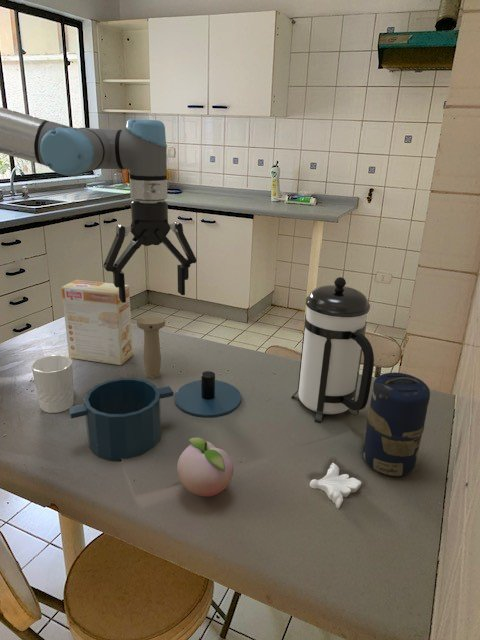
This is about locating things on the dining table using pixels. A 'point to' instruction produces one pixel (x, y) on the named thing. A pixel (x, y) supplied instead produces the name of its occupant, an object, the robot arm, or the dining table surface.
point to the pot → (122, 417)
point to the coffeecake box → (97, 322)
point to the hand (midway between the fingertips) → (152, 297)
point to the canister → (395, 423)
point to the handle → (151, 344)
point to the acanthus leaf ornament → (336, 485)
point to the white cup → (54, 382)
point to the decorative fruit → (204, 468)
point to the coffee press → (335, 351)
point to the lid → (207, 397)
